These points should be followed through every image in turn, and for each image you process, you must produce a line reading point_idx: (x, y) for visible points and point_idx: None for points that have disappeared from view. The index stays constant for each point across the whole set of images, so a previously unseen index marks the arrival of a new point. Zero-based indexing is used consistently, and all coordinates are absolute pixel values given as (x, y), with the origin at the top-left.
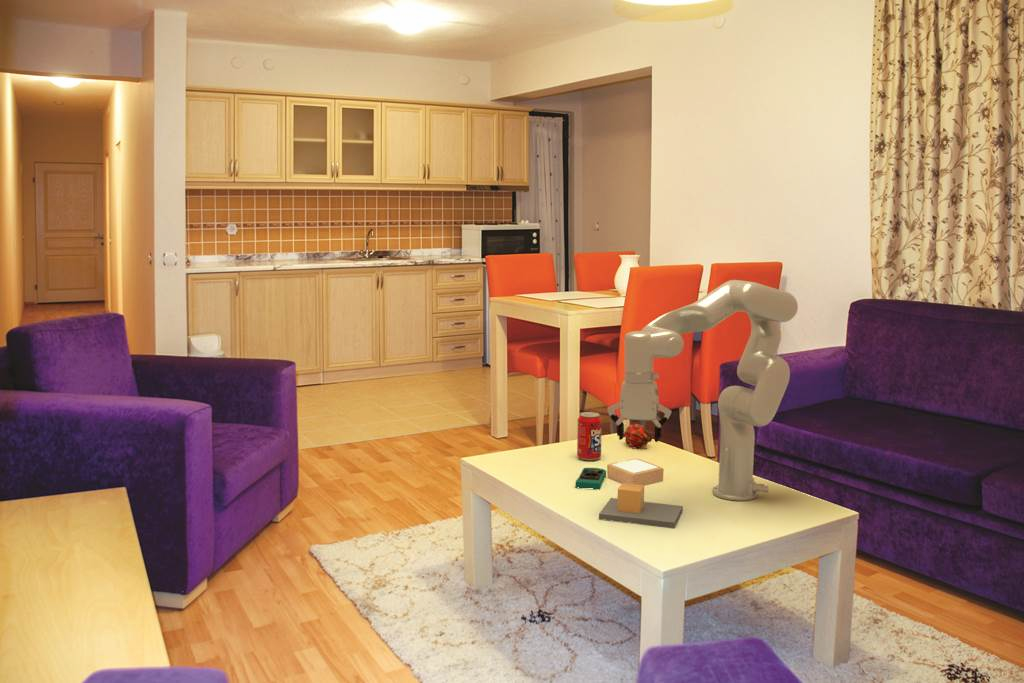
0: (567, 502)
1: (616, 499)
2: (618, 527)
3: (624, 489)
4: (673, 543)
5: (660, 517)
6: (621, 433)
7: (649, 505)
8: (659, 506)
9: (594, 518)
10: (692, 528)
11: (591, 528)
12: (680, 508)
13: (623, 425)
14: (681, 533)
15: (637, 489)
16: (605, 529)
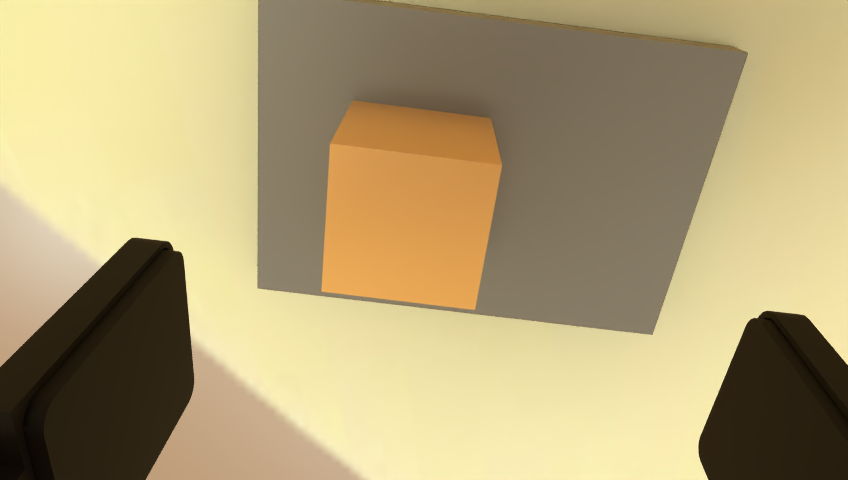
0: (5, 37)
1: (302, 16)
2: (378, 353)
3: (367, 291)
4: (619, 468)
5: (584, 280)
6: (147, 462)
7: (526, 93)
8: (590, 99)
9: (241, 266)
10: (735, 303)
11: (262, 385)
12: (722, 108)
13: (71, 426)
14: (669, 369)
15: (455, 273)
16: (324, 385)
